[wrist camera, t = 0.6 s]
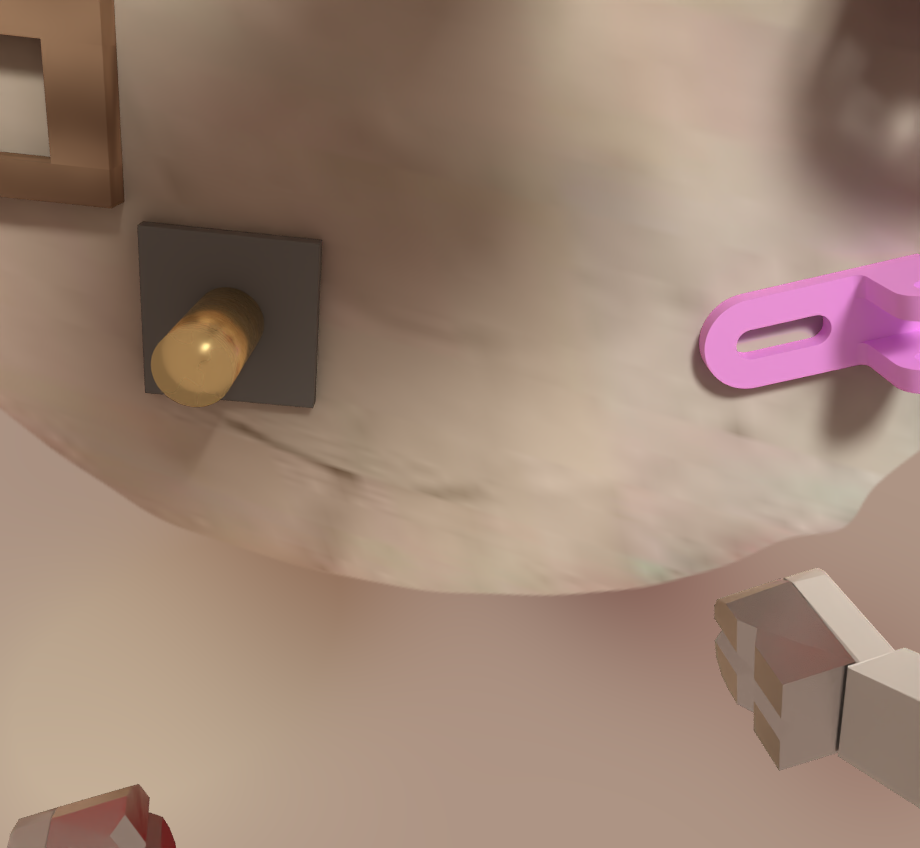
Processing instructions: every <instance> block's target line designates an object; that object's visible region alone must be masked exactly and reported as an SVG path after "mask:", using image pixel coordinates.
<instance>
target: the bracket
mask: <svg viewBox="0 0 920 848" xmlns="http://www.w3.org/2000/svg"><path fill="white" fill-rule="evenodd" d="M815 315H822V317H823V326H822V328H821V330H820V331H819V333H818V334H816V335H815V336H814V337H811V338H808V339H804V340H799V341H795V342H790V343H786V344H781V345H777V346H772V347H768V348H763V349H759V350H755V351H750V352H745V353H742V352H738V351H737V349H736V344H737V341H738V339H739V337H740V336H741V335H742V334H743V333H745V332H747V331H749V330H753V329H757V328H762V327H766V326H771V325H775V324H780V323H784V322H788V321H793V320H797V319H802V318H806V317H811V316H815ZM699 349H700V354H701V357H702V359H703V361H704V363H705V365H706V366H707V367H708V369H709V370H710V371H711V372H712V374H713V375H714V376H715V377H716V378H717V379H718V380H720V381H721V382H723V383H724V384H726V385H729V386H731V387H735V388H743V389H748V388H756V387H760V386H765V385H769V384H774V383H779V382H783V381H788V380H792V379H797V378H801V377H806V376H810V375H815V374H819V373H824V372H829V371H833V370H838V369H842V368H847V367H851V366H856V365H868V366H870V367H871V368H872V369H874V370H875V371H876V372H877V373H879V374H880V375H881V376H883V377H884V378H885V379H886V380H888V381H889V382H890V383H892V384H893V385H894V386H895V387H897V388H899V389H901V390H903V391H907V392H911V393H918V394H920V255H919V254H913V255H909V256H905V257H900V258H896V259H892V260H887V261H883V262H879V263H874V264H870V265H866V266H861V267H857V268H852V269H848V270H844V271H839V272H835V273H831V274H826V275H822V276H818V277H813V278H809V279H805V280H800V281H796V282H792V283H787V284H783V285H778V286H774V287H770V288H765V289H761V290H757V291H752V292H748V293H744V294H740V295H736V296H733V297H731V298H729V299H727V300H725V301H724V302H722V303H721V304H719V305H718V306H717V307H716V308H715V309H714V310H713V311H712V312H711V313H710V314H709V316H708V317H707V319H706V320H705V322H704V324H703V326H702V329H701V332H700V337H699Z"/></svg>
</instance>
